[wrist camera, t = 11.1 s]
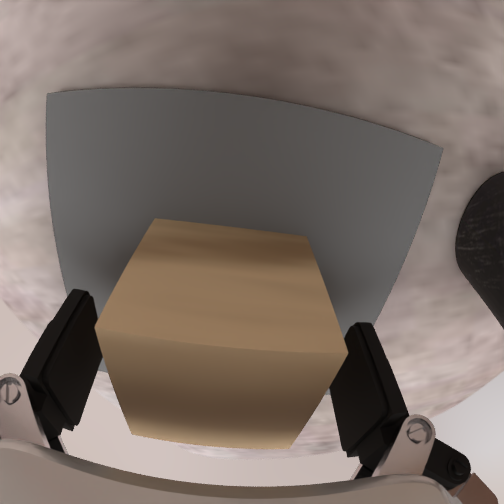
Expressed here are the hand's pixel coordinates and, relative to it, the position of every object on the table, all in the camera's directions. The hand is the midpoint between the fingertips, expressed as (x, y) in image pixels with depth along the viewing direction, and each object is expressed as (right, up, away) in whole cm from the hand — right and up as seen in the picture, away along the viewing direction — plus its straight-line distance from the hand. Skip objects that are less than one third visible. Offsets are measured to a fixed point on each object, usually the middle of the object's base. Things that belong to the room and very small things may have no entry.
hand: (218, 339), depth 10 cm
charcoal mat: (0, +2, +4) cm, 4 cm away
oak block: (0, +1, +3) cm, 3 cm away
